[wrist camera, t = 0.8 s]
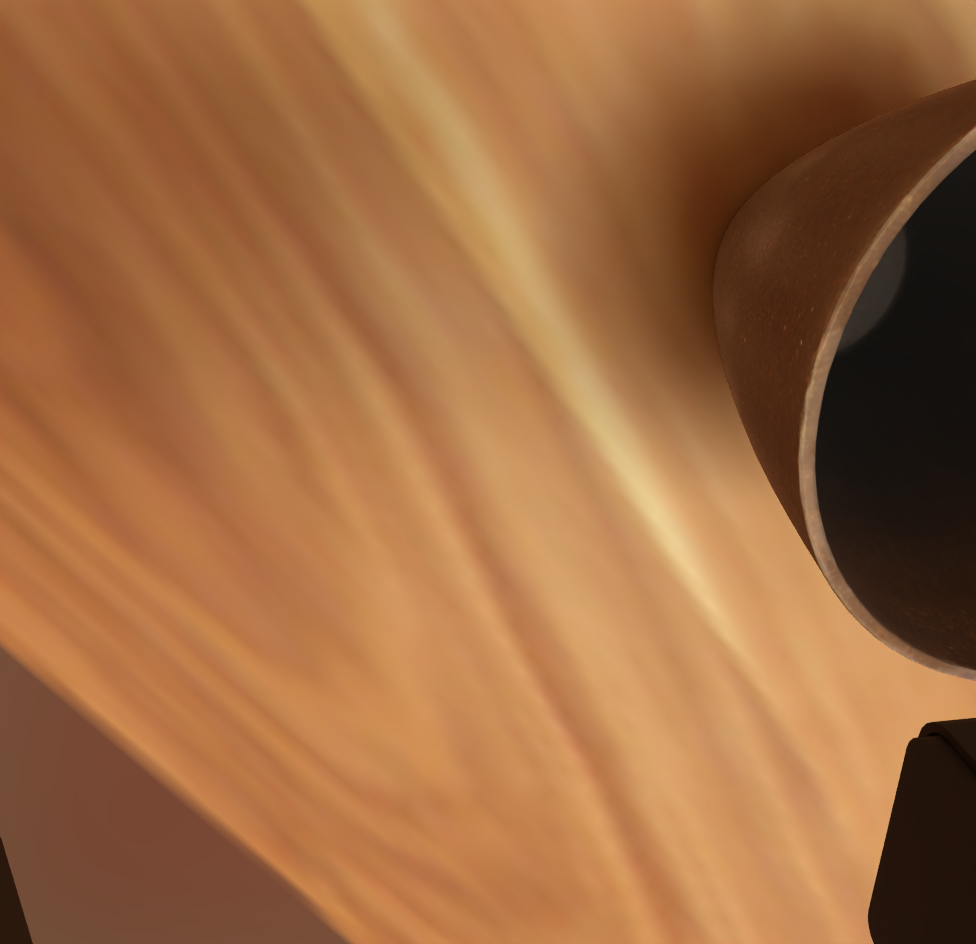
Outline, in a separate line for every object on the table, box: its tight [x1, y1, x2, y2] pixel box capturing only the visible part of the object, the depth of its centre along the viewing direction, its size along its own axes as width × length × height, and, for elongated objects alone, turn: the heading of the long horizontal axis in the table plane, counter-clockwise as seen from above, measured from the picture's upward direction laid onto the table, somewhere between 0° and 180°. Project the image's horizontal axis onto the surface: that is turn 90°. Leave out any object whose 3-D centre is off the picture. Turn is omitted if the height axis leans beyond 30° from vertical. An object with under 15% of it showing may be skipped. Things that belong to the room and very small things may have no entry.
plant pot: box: [713, 80, 976, 681], centre depth 27 cm, size 15×15×16 cm
